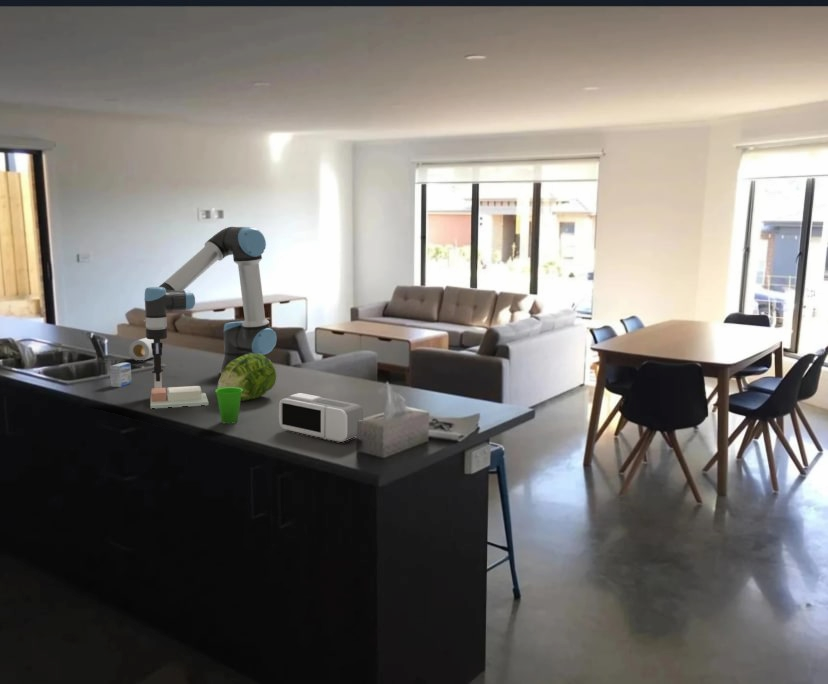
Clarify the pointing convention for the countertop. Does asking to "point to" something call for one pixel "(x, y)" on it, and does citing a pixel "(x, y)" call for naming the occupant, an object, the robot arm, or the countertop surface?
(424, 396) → the countertop surface
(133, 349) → the toilet paper
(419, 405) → the countertop surface
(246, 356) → the lettuce
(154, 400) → the pink rectangular block
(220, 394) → the cup
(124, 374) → the medicine box
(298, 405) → the alarm clock
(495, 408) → the countertop surface
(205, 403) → the board
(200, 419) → the countertop surface
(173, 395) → the cream flat block
